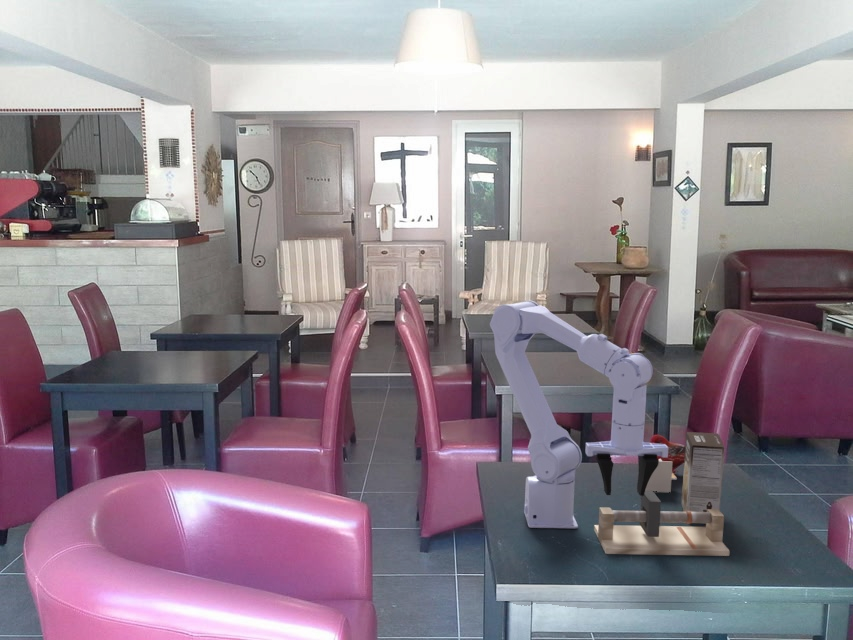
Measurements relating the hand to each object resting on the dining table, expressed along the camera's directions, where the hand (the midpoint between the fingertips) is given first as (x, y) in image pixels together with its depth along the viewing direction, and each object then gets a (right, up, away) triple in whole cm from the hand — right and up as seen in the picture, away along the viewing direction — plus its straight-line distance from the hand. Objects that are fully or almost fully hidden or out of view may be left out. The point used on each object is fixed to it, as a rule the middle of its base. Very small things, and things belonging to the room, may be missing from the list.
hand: (624, 493), depth 138 cm
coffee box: (+19, -8, +14) cm, 25 cm away
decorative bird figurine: (+22, -4, +38) cm, 44 cm away
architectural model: (+14, -6, +27) cm, 31 cm away
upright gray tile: (+5, -7, +1) cm, 9 cm away
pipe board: (+7, -9, +1) cm, 12 cm away
